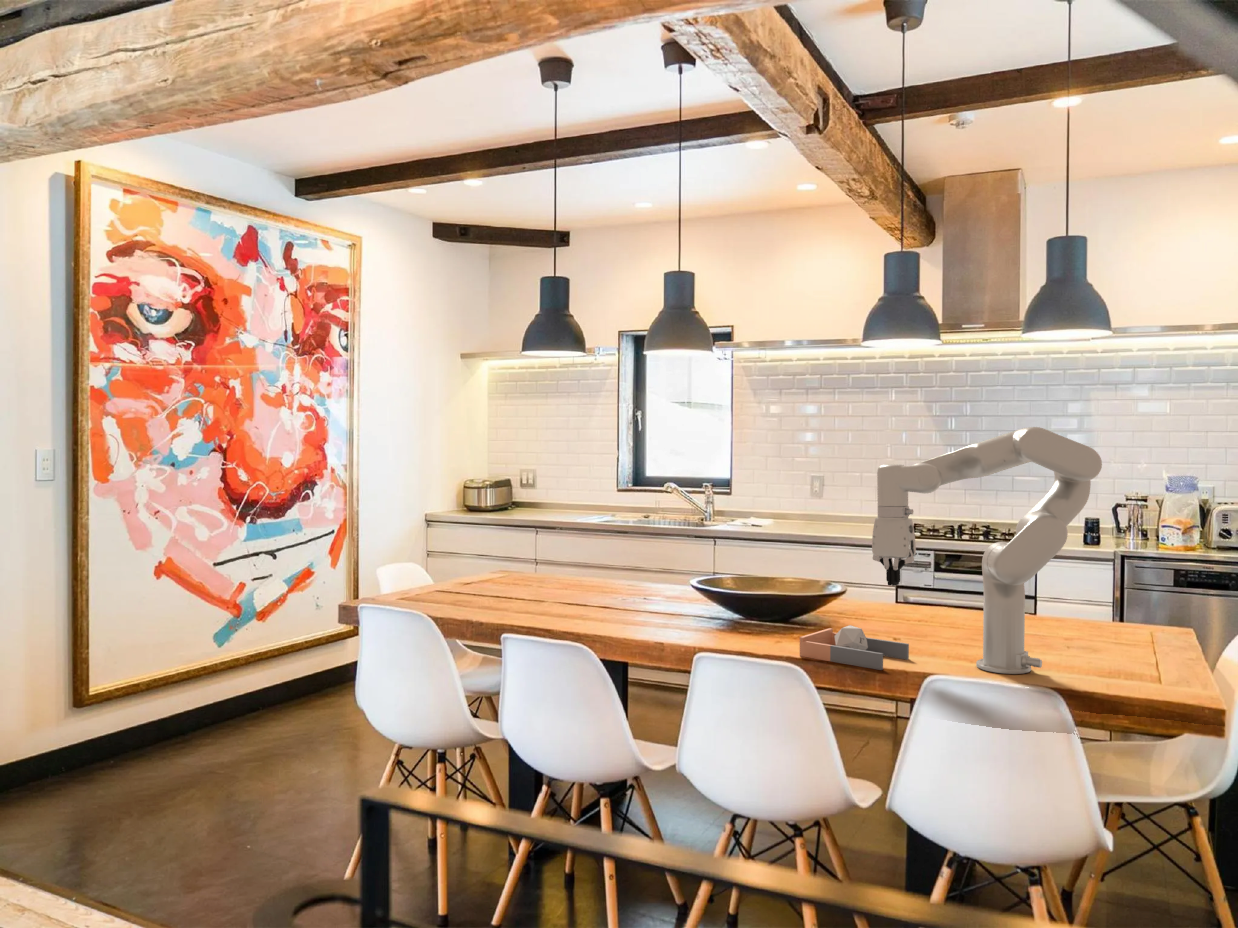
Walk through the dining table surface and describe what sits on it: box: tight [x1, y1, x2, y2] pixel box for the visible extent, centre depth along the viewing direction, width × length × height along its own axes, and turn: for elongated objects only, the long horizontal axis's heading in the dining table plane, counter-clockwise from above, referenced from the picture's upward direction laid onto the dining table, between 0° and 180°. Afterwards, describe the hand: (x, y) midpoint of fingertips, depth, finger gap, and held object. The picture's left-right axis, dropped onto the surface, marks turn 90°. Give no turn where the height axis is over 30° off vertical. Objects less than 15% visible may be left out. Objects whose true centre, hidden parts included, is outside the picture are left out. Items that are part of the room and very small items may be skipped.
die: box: [835, 625, 868, 650], centre depth 240 cm, size 8×9×10 cm
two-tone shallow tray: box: [799, 627, 910, 671], centre depth 239 cm, size 23×16×5 cm
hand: (893, 584), depth 231 cm, fingers closed
